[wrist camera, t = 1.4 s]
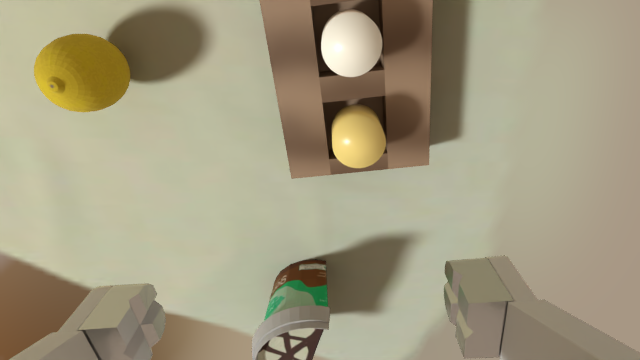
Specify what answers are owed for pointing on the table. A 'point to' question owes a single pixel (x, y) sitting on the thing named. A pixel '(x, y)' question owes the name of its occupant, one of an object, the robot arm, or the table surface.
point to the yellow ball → (357, 136)
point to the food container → (294, 314)
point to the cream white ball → (351, 43)
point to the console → (351, 81)
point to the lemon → (82, 72)
